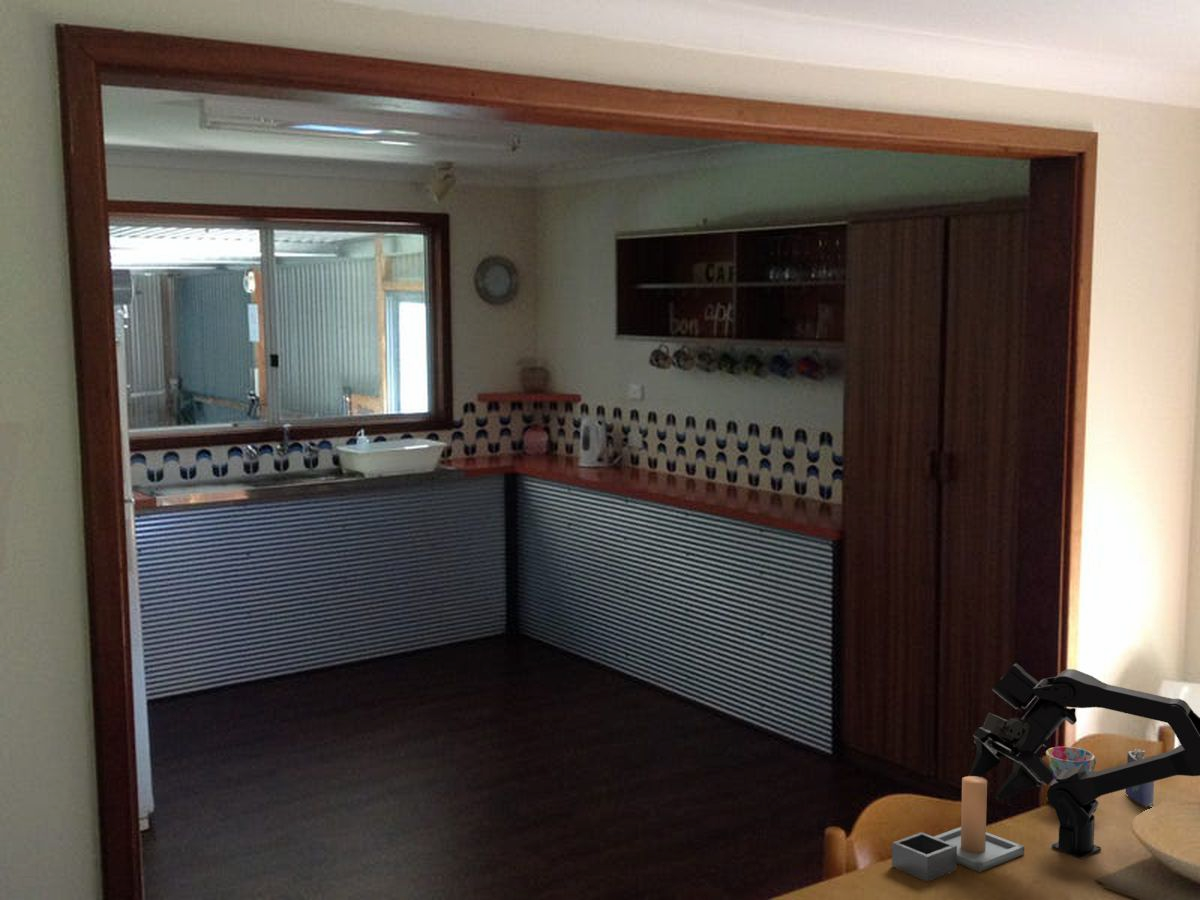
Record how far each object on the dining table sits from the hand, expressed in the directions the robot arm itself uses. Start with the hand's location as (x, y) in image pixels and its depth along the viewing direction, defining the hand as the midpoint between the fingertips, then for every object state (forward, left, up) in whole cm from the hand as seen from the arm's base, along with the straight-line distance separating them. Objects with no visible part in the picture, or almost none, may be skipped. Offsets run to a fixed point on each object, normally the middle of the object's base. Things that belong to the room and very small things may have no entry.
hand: (983, 789), depth 238 cm
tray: (+2, -1, -12) cm, 12 cm away
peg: (+1, -1, -11) cm, 11 cm away
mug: (-34, -4, -12) cm, 37 cm away
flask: (-46, +3, -12) cm, 48 cm away
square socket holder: (+15, -1, -12) cm, 19 cm away
